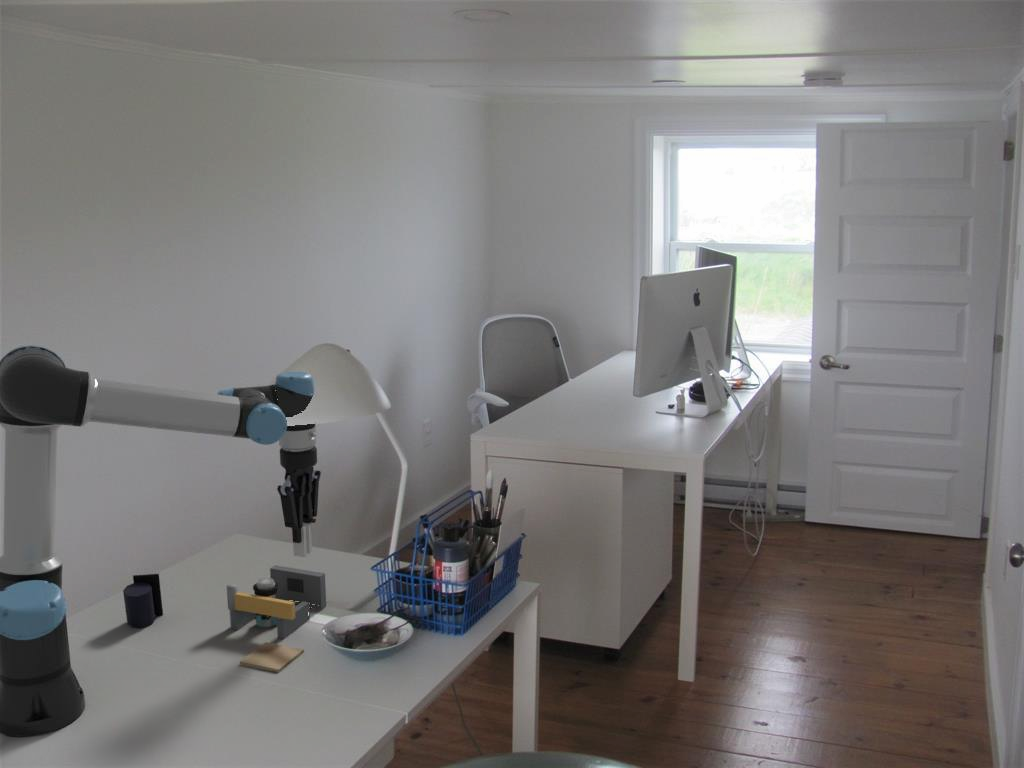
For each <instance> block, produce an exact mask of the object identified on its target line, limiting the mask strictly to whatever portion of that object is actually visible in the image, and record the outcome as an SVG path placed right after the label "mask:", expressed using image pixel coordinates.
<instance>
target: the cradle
mask: <svg viewBox="0 0 1024 768" xmlns="http://www.w3.org/2000/svg"><path fill="white" fill-rule="evenodd" d="M269 575H270V576H269V577H270V578H271V579H273V580H274V581H275V582H277V583H278V584H279V587H278V591H277V593H276V594H275V599H281V600H286V601H289V600H293V601H292V602H295V601H299V602H295V618H294V619H293V620H290V619H284V618H279V619H278V620H277V625H276V629H277V631H276V634H277V639H281V640H284V639H286V638H288V636H290V635H291V634H293V633H294V632H295V631H297V630H298V629H299V628H300V627H302V626H303V625H304V624H306V623H307V622H308V621H310V615H309V616H308V612H309V613H310V609H311V607H312V608H314V609H313V610H317V611H323V610H324V609H325V608H327V591H326V589H327V588H326V587H327V586H326V573H325V572H319V571H312V570H306V569H300V568H295V567H287V566H282V565H276V564H275V565H273V566H272V567H270V568H269ZM309 603H310V604H309ZM312 604H315V605H312ZM296 605H297V606H296ZM318 605H319V606H318ZM309 607H310V608H309ZM253 620H256V613H252V612H246V611H241V610H229V621H230V622H229V623H230V628H231V630H234V631H239V630H240V629H242V628H243V627H245V626H246V625H248V624H249V623H250V622H252V621H253Z"/></svg>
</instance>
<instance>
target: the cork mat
mask: <svg viewBox="0 0 1024 768" xmlns="http://www.w3.org/2000/svg"><path fill="white" fill-rule="evenodd" d="M304 652H305V651H304V648H303V649H302V648H298V647H293V646H288V645H287V646H286V645H283V644H278V643H272V642H269V641H268V642H264V643H263V644H262V645H260V646H259V647H258V648H257V649H255V650H253V651H252V652H250V653H249V654H248V655H246V656H245V657H244V658H242V659H241V660H240V661H239V665H240V666H245V667H251V668H256V669H259V670H266V671H269V672H275V673H280V672H282V670H284V669H285V668H286V667H288V666H289V665H290V664H291V663H292V662H293V661H295V660H296V659H298V657H300V656H301V655H302V654H304Z"/></svg>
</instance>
